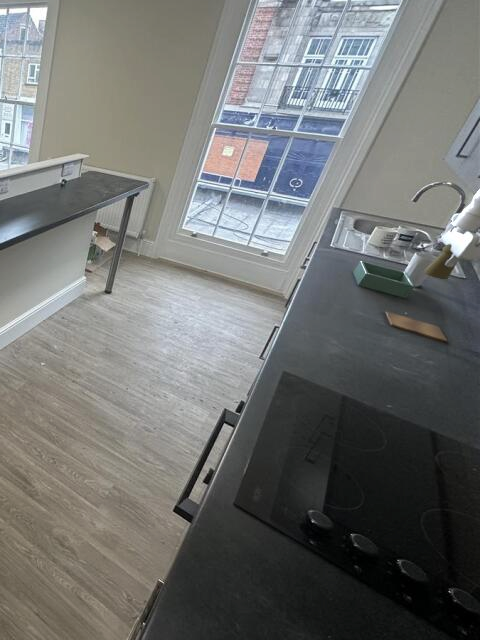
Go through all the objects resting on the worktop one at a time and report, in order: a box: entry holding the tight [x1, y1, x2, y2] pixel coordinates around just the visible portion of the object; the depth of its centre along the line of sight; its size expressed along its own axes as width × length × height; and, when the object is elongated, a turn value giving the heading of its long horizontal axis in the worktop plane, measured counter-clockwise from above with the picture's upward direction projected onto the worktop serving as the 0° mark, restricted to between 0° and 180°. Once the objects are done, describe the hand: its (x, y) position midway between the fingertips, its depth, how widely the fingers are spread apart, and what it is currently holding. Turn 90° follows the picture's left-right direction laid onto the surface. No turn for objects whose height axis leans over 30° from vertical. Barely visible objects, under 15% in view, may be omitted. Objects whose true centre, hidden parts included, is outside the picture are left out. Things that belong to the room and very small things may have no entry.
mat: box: [384, 311, 448, 343], centre depth 136 cm, size 14×10×1 cm
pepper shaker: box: [423, 244, 458, 280], centre depth 132 cm, size 6×6×11 cm
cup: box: [403, 252, 438, 287], centre depth 164 cm, size 8×8×12 cm
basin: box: [352, 260, 416, 299], centre depth 161 cm, size 15×15×6 cm
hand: (445, 262), depth 132 cm, fingers closed on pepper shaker, 4 cm apart
